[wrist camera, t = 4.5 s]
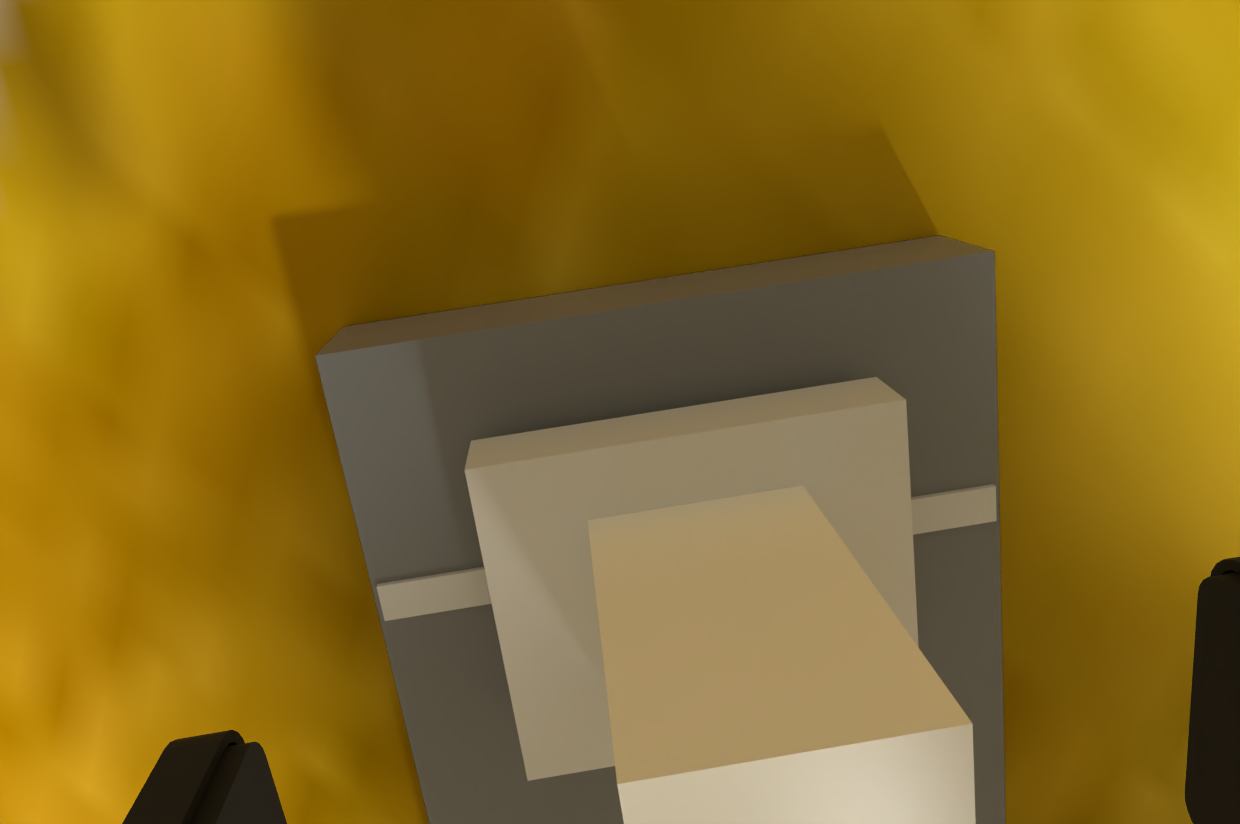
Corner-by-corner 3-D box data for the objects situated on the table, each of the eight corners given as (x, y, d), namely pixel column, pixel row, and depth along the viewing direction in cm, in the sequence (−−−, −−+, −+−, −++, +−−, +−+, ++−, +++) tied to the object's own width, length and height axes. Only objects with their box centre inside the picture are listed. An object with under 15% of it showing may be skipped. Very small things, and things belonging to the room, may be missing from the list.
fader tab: (876, 376, 14) (1150, 587, 8) (894, 670, 15) (1134, 1048, 9) (470, 440, 14) (411, 712, 7) (529, 731, 15) (520, 1159, 9)
